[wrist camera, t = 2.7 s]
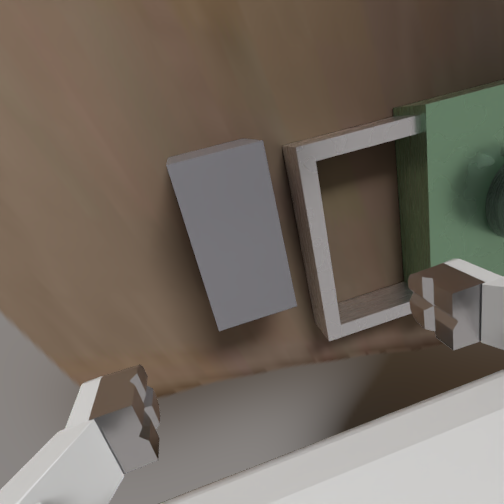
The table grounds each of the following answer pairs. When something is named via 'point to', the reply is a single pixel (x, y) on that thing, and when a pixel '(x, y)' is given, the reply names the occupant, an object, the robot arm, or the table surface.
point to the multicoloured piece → (411, 198)
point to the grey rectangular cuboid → (234, 230)
